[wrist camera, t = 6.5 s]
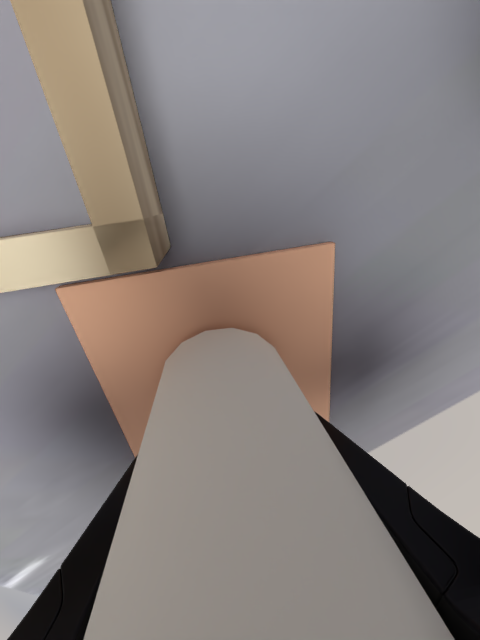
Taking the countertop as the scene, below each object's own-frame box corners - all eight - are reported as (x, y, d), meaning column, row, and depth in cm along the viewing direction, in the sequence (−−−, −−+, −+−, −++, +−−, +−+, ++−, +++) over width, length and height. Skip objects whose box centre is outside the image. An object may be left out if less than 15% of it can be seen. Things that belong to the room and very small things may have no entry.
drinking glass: (123, 344, 10) (-429, 1376, 1) (280, 298, 10) (801, 925, 1) (180, 449, 13) (139, 978, 4) (301, 412, 13) (512, 845, 4)
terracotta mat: (330, 241, 11) (335, 243, 10) (325, 426, 15) (328, 432, 15) (60, 285, 10) (54, 289, 9) (143, 466, 15) (142, 473, 14)
